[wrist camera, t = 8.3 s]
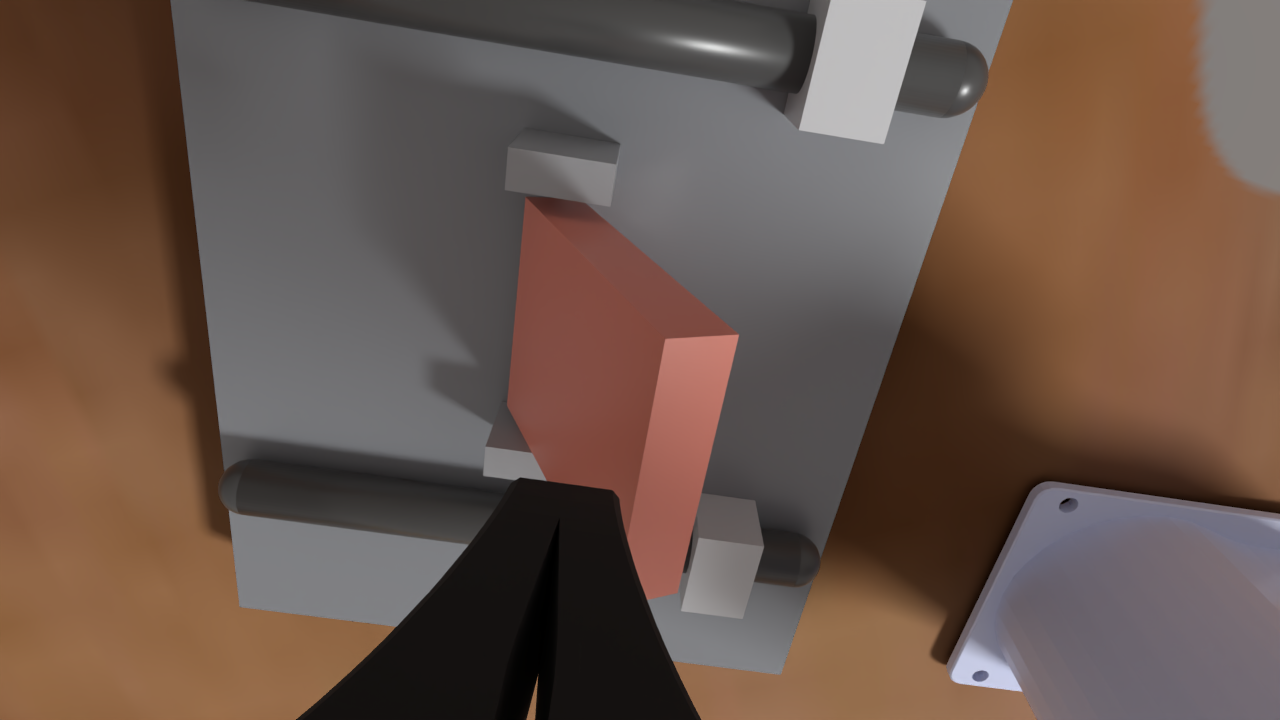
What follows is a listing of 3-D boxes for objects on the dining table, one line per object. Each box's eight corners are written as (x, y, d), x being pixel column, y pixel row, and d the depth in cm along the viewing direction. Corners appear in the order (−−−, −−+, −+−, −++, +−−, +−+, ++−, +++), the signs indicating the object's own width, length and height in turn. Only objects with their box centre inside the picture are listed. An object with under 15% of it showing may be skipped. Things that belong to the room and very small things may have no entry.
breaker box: (1036, -199, 14) (1161, -258, 11) (771, 623, 24) (791, 734, 21) (192, -364, 14) (28, -487, 10) (271, 559, 23) (202, 663, 20)
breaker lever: (580, 198, 16) (738, 334, 11) (555, 401, 18) (677, 593, 13) (525, 196, 15) (664, 338, 10) (506, 405, 18) (614, 606, 12)
